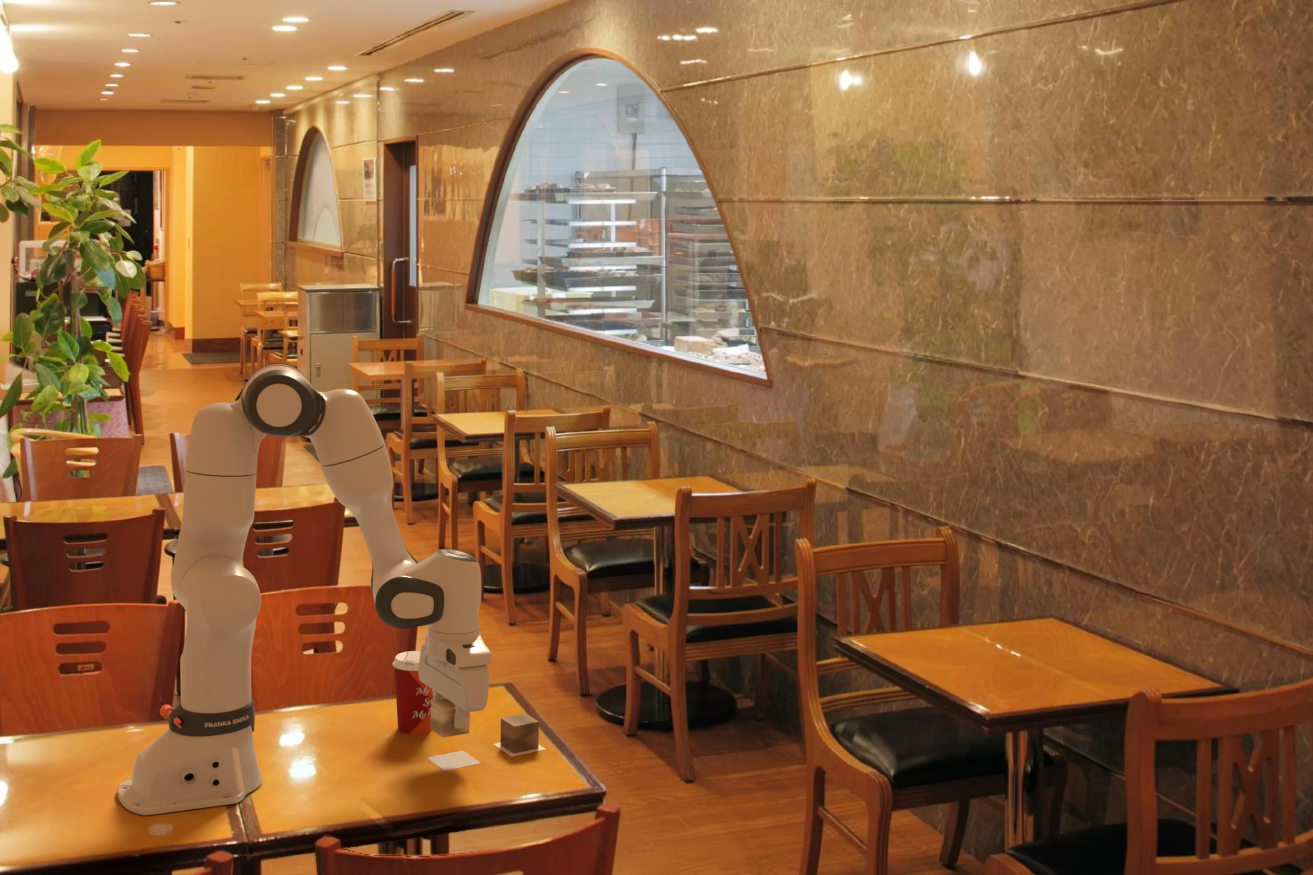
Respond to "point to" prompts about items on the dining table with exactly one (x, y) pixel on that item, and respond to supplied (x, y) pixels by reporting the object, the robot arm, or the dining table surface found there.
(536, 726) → the walnut block
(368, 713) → the dining table surface
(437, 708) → the maple block
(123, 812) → the dining table surface
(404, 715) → the coffee cup
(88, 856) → the dining table surface
